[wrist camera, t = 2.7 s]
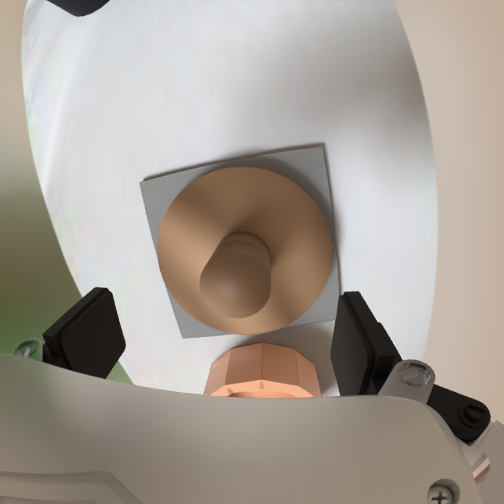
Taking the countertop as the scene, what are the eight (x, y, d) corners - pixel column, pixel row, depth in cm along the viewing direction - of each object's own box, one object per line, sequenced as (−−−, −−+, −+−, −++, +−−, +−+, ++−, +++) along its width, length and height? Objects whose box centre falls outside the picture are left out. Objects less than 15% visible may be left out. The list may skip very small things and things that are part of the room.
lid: (247, 351, 24) (241, 401, 18) (133, 253, 22) (95, 282, 16) (361, 253, 21) (392, 284, 15) (240, 130, 19) (228, 114, 13)
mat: (339, 315, 23) (340, 318, 23) (184, 335, 25) (182, 338, 24) (321, 146, 19) (322, 146, 19) (142, 181, 21) (139, 182, 20)
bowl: (262, 429, 28) (261, 462, 23) (187, 382, 26) (175, 416, 22) (338, 383, 25) (348, 419, 21) (263, 322, 24) (261, 358, 19)
